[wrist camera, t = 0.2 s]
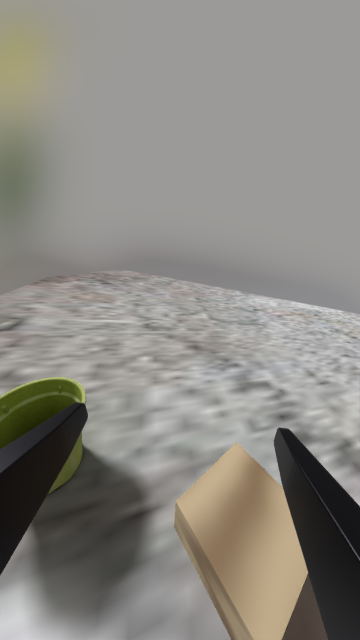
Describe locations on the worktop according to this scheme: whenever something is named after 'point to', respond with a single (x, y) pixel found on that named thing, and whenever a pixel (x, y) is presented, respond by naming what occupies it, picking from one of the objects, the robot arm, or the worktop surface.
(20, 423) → the plant pot
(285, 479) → the robot arm
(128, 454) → the worktop surface
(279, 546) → the oak block
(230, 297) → the worktop surface
